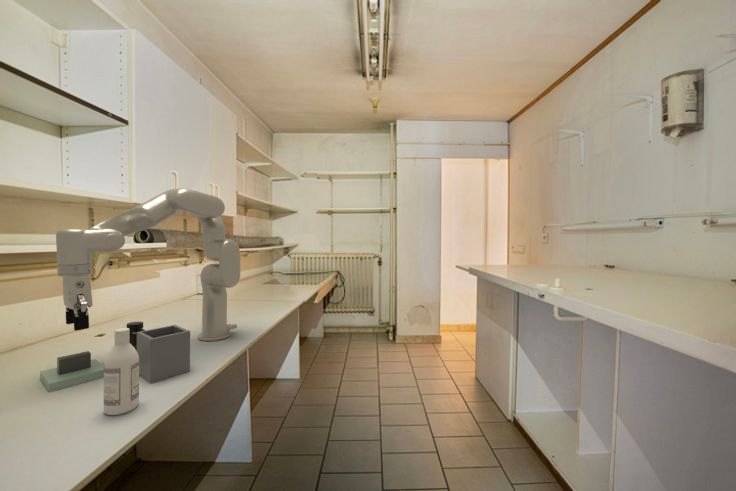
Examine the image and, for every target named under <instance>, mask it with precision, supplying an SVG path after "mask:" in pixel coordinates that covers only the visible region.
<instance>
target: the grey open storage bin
mask: <svg viewBox="0 0 736 491" xmlns="http://www.w3.org/2000/svg"><path fill="white" fill-rule="evenodd" d="M163 335H165V336H163ZM137 353H138V356H139V377H140V378H142V379H144V380H145V381H146V382H148V384H153V383H156V382H160V381H162V380H166V379H169V378H172V377H175V376H179V375H182V374H185V373H188V372H190V371H191V330H189V329H186V328H183V327H182V326H179V325H177V324H172V325H166V326H162V327H158V328H157V327H156V328H152V329H147V330H146V331H141V332H137Z"/></svg>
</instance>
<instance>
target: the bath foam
mask: <svg viewBox="0 0 736 491" xmlns="http://www.w3.org/2000/svg"><path fill="white" fill-rule="evenodd" d="M129 338H130V329H129V328H126V327H121V328H117V329H115V330H114V345H113V346H112V347H111V348H110V350H109V352H108V353H107V355H106V356H105V359H104V364H103V366H104V377H103V414H105V415H107V416H118V415H123V414H126V413H128V412H131V411H132V410H134V409H135V408H137V406H138V405H139V403H140V400H139V399H140V376H139V356H138V353H137V351H136V349H135V348H134V347H133V346H132V345H131V344H130V343H129Z"/></svg>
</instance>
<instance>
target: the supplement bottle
mask: <svg viewBox="0 0 736 491" xmlns="http://www.w3.org/2000/svg"><path fill="white" fill-rule="evenodd" d="M125 328H129V329H130V338H129V343H130V344H131V345H132V346H133V347H134V348H135V349H136V351H137V332H141V331H146V330H145V329H144V322H143V321H131V322H128V323H126V327H125Z"/></svg>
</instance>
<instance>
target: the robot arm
mask: <svg viewBox="0 0 736 491" xmlns="http://www.w3.org/2000/svg"><path fill="white" fill-rule="evenodd" d="M225 207H226V206H225V203H224V202H223V200H222V199H221V198H220V197H217V196H215V195H212V194H208V193H205V192H200V191H197V190H193V189H190V188H186V187H185V188H174V189H168V190H166V191H163V192H162V193H160V194H158V195H156V196H154V197H152V198H150V199H148V200H147V201H145V202H142V203H141V204H138V205H137V206H135V207H133V208H130V209H128V210H126V211H124V212H121V213H118V214H116V215H114V216H111V217H110V218H107V219H105V220H104V221H102V222H100V223H97V224H96V225H94V226H92V227H90V228H88V229H85V228H62V229H59V230H57V231H56V233H55V241H56V242H55V244H56V246H55V247H56V264H57V266H56V268H57V270H56V271H57V277H61V278H62V296H63V297H62V298H63V303H64V306H65V324H66V325H72V324H73V331H75V332H76V331H81V330H87V329H89V328H90V318H89V316H90V315H89V309H88V308H91V307H93V295H92V285H91V279H90V275H93V266H92V264H93V263H92V262H93V261H92V252H101V253H113V252H116V251H118V250H120V249H122V248H123V247H124V246H125V243H126V239H125V237H126V236H128V235H132V234H133V233H137V232H141V231H145V230H150V229H151V228H154V227H157V226H158V225H159V224H161V223H163V222H164V221H166V220H167V219H169V218H171V217H172V216H174V215H176V214H177V213H180V212H187V213H189V214H190V215H191V216H193V217H194V218H195V219H196V220H197V221H198V222H199V223H200V225H201V229H202V235H203V236H202V237H203V238H202V240H203V241H202V242H203V246H202V248H203V256H204V257H205V258H206V259H207V260H209V261H215V262H218V263H209V264H206V265H205V266H203V268H202V269H201V272H200V277H199V278H200V284H201V289H202V309H201V310H202V316H201V318H202V319H201V320H202V321H201V322H202V323H201V326H202V328H201V332H200V333H199V334H198V335H197V339H198V340H199V341H203V342H215V341H220V340H224V339H227V338H229V337H230V336H231V330H235V329H237V328H238V324H237V323H235V324H230V323H229V324H228V321H227V320H228V292H227V289H230V288H233V287H235V286H236V285H237V284H238V283H239V281H240V278H241V250H240V247H239V245H238V243H237V242H236V241H235V240H233V239H231V238H226V229H225V228H226V227H225V224H224V221H223V219H222V218H221V216H222V215H224V213H225V210H226V208H225Z"/></svg>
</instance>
